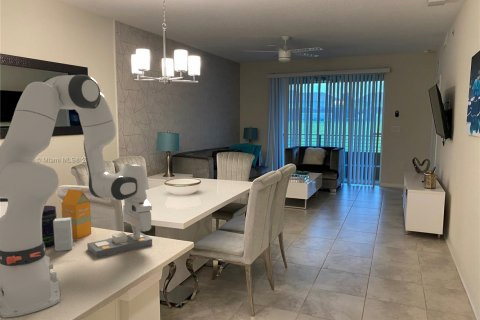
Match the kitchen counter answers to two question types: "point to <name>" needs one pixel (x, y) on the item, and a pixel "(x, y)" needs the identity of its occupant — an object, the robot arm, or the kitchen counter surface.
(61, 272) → the kitchen counter surface
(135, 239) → the far button
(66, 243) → the skincare box
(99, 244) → the near button
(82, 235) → the orange juice
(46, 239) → the dark blue cylinder
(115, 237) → the middle button
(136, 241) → the button panel
